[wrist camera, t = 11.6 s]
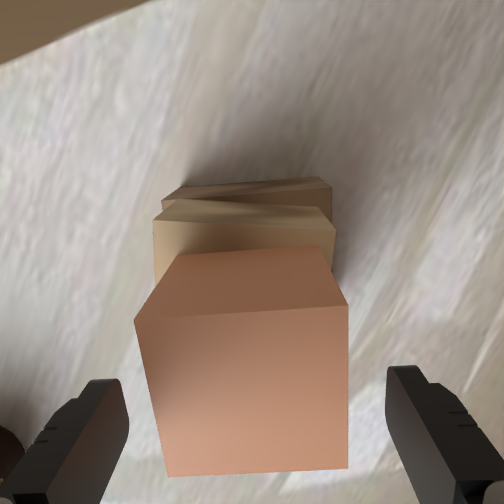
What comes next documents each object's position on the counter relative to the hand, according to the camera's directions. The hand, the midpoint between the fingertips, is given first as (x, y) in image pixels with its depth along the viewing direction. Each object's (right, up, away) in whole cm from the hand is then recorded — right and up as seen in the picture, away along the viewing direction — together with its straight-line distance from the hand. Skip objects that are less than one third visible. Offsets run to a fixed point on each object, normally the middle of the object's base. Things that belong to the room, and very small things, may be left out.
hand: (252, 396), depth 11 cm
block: (0, +2, +4) cm, 4 cm away
